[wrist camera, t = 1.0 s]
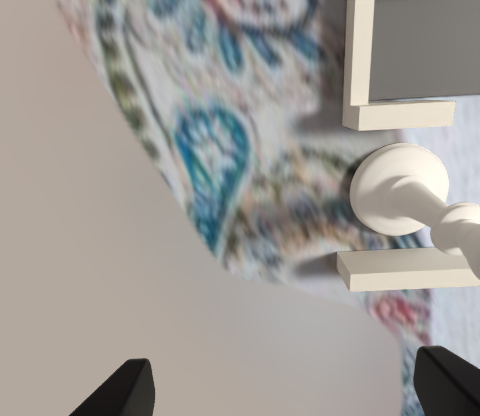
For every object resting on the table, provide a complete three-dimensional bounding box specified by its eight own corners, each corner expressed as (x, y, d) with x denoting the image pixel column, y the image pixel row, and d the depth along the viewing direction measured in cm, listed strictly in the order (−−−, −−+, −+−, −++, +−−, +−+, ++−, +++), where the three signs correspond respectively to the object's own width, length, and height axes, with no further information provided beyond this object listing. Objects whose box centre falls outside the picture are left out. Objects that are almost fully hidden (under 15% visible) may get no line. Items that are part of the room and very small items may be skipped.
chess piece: (331, 207, 19) (427, 329, 9) (385, 125, 17) (564, 166, 8) (405, 246, 19) (565, 395, 10) (462, 170, 18) (712, 259, 8)
